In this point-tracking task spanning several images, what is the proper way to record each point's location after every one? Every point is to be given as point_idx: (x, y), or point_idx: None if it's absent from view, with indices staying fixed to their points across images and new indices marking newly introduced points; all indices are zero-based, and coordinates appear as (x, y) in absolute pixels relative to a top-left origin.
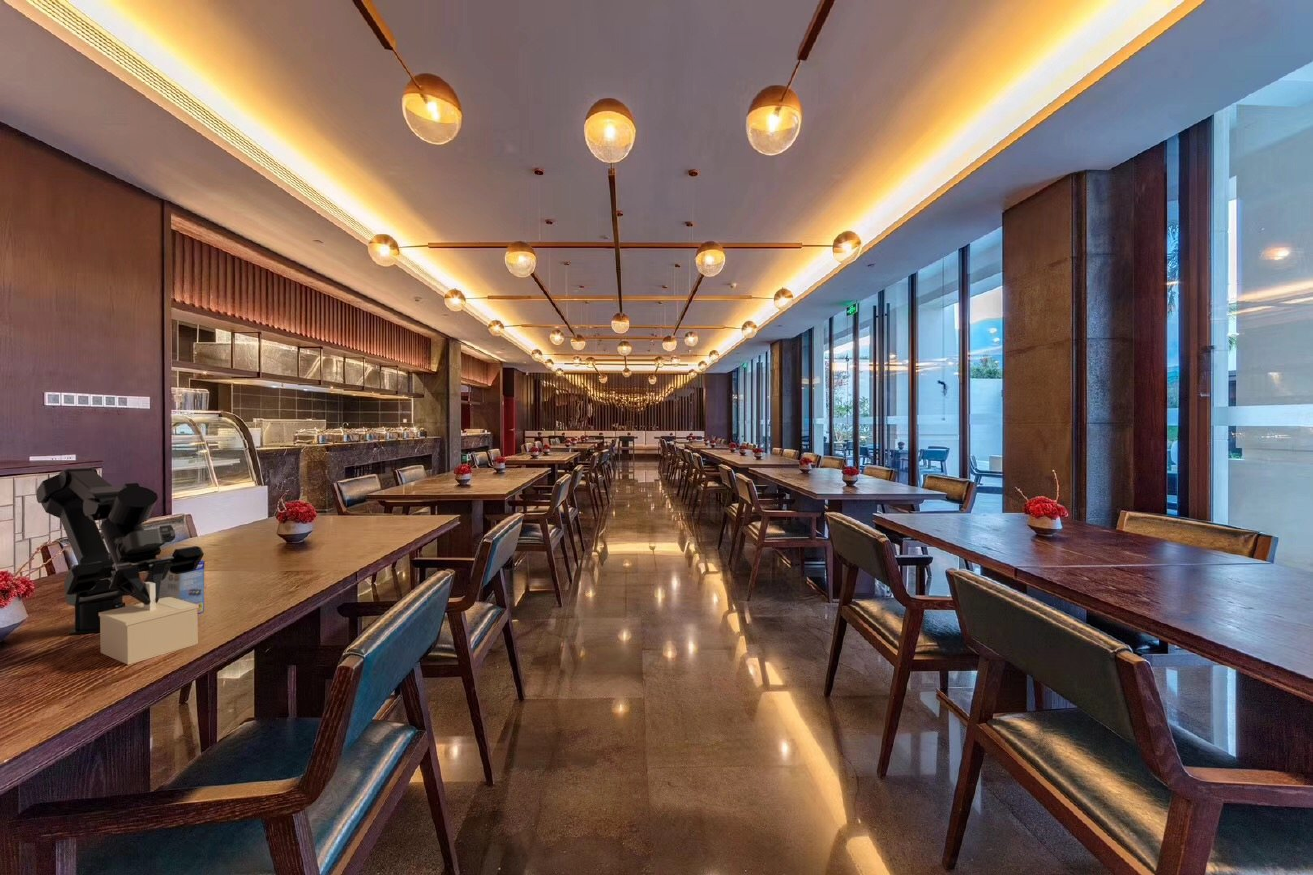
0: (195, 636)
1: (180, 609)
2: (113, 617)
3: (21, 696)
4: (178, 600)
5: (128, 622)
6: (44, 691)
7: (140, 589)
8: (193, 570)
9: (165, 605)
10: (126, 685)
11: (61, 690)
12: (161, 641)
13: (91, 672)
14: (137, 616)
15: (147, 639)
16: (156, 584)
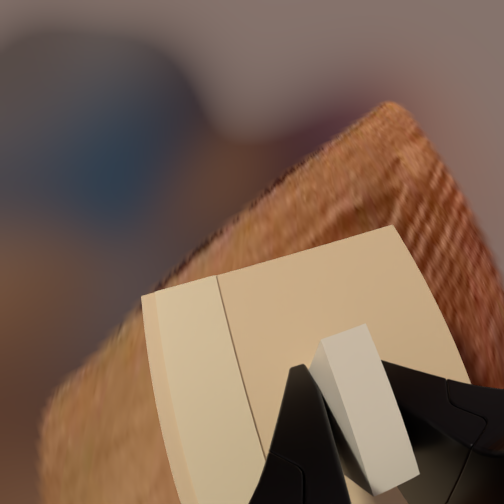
0: None
1: (210, 276)
2: (454, 349)
3: (483, 251)
4: (189, 487)
5: (385, 228)
6: (460, 249)
7: (418, 375)
8: None
9: (255, 428)
10: (337, 179)
11: (436, 232)
12: None
13: None
14: (370, 291)
15: None
16: (305, 440)
